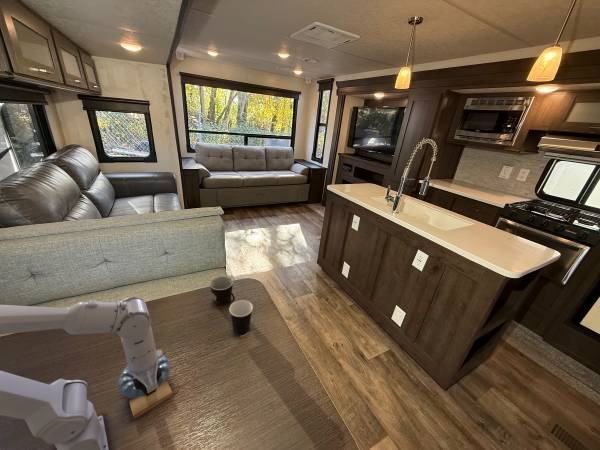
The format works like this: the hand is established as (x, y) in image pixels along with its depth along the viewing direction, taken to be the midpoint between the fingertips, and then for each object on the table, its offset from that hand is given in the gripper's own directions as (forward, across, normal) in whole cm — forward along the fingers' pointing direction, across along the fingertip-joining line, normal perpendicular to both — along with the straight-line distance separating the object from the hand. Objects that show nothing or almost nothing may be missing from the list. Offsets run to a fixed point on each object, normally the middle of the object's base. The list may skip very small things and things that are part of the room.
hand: (149, 386), depth 61 cm
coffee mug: (+8, +23, -31) cm, 39 cm away
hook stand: (+8, +4, 0) cm, 9 cm away
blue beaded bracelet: (0, +4, 0) cm, 4 cm away
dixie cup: (+8, +7, -30) cm, 32 cm away
